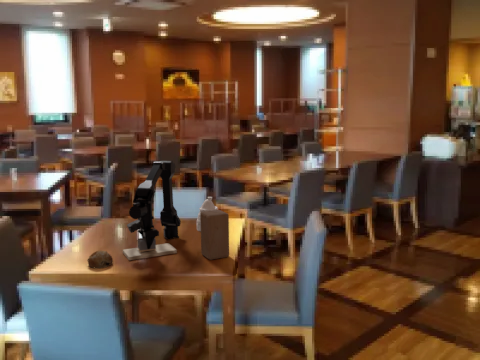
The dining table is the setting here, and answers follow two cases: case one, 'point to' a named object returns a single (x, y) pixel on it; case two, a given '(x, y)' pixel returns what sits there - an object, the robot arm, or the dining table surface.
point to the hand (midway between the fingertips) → (147, 247)
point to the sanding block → (145, 245)
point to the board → (149, 252)
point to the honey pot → (205, 206)
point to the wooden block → (214, 234)
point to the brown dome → (100, 259)
